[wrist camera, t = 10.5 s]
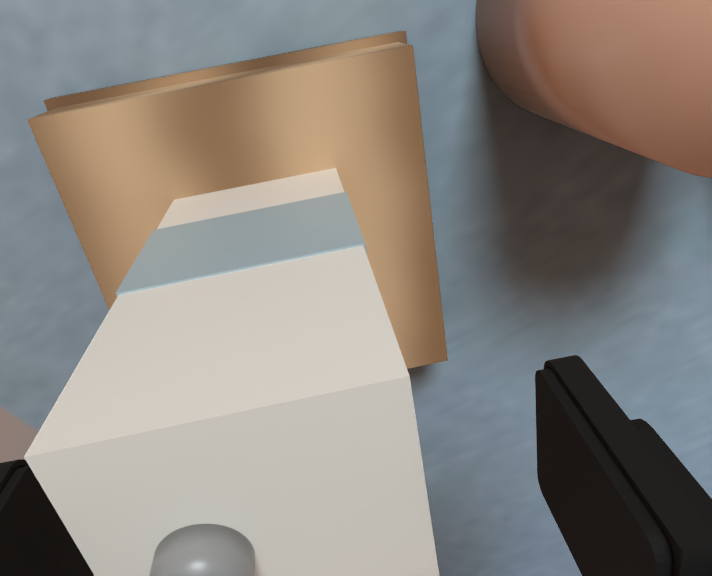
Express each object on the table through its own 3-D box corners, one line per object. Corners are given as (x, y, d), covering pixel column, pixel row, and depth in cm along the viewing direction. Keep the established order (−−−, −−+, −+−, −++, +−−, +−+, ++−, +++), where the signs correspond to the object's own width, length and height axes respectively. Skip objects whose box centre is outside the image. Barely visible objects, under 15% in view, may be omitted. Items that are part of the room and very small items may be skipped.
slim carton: (336, 165, 19) (425, 407, 7) (363, 308, 21) (459, 655, 10) (171, 198, 18) (-8, 500, 7) (218, 339, 21) (143, 727, 9)
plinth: (402, 30, 20) (421, 32, 17) (437, 327, 25) (455, 364, 23) (50, 98, 19) (13, 111, 17) (166, 384, 25) (152, 428, 22)
